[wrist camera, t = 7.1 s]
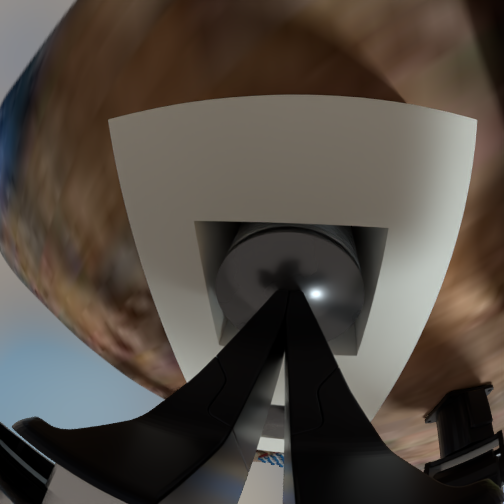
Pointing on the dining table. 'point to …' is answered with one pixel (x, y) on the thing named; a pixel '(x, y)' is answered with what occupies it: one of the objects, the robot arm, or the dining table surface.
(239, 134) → the sleeve block
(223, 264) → the peg
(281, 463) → the woven mat
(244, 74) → the dining table surface
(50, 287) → the dining table surface
